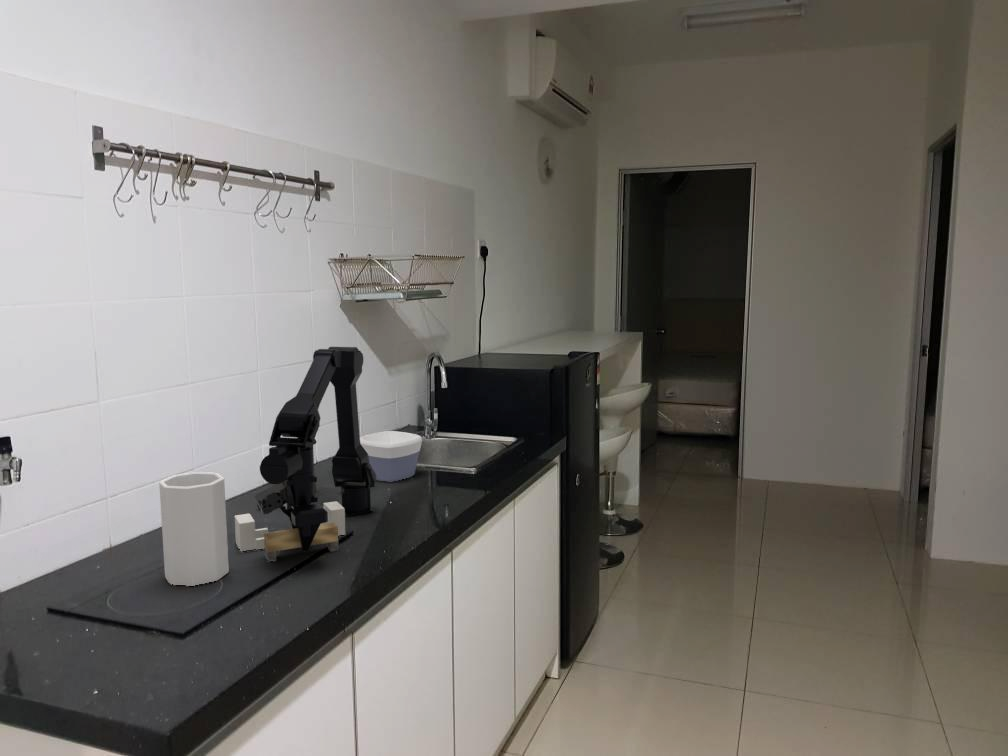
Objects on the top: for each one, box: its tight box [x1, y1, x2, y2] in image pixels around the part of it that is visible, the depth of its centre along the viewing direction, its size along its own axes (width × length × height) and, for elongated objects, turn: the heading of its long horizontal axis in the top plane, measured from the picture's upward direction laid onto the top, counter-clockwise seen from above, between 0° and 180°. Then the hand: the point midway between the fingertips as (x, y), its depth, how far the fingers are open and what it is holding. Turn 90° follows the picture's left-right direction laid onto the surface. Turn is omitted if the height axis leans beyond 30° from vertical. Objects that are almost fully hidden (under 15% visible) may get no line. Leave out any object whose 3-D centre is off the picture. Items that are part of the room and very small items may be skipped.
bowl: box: [360, 430, 423, 483], centre depth 213 cm, size 15×15×11 cm
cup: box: [159, 471, 230, 587], centre depth 142 cm, size 11×11×18 cm
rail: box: [264, 523, 340, 562], centre depth 154 cm, size 14×3×5 cm, turn 118°
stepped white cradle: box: [234, 501, 346, 553], centre depth 163 cm, size 22×7×6 cm, turn 118°
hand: (302, 546), depth 154 cm, fingers open, 5 cm apart
